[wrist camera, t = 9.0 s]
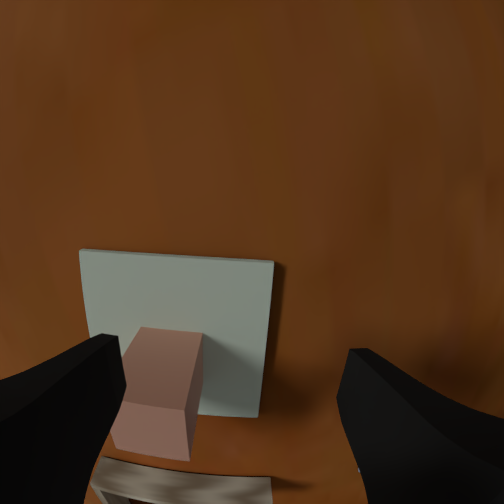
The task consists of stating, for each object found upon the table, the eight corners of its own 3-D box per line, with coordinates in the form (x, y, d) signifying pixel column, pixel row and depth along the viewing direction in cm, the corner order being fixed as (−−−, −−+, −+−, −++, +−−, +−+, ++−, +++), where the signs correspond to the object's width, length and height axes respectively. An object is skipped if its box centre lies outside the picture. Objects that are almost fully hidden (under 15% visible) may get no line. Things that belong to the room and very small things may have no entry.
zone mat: (273, 260, 18) (274, 263, 17) (257, 413, 21) (257, 417, 20) (82, 248, 17) (78, 250, 17) (106, 395, 20) (104, 399, 20)
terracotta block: (202, 332, 18) (184, 410, 11) (203, 382, 19) (189, 461, 12) (140, 326, 18) (99, 395, 11) (146, 375, 19) (116, 448, 12)
